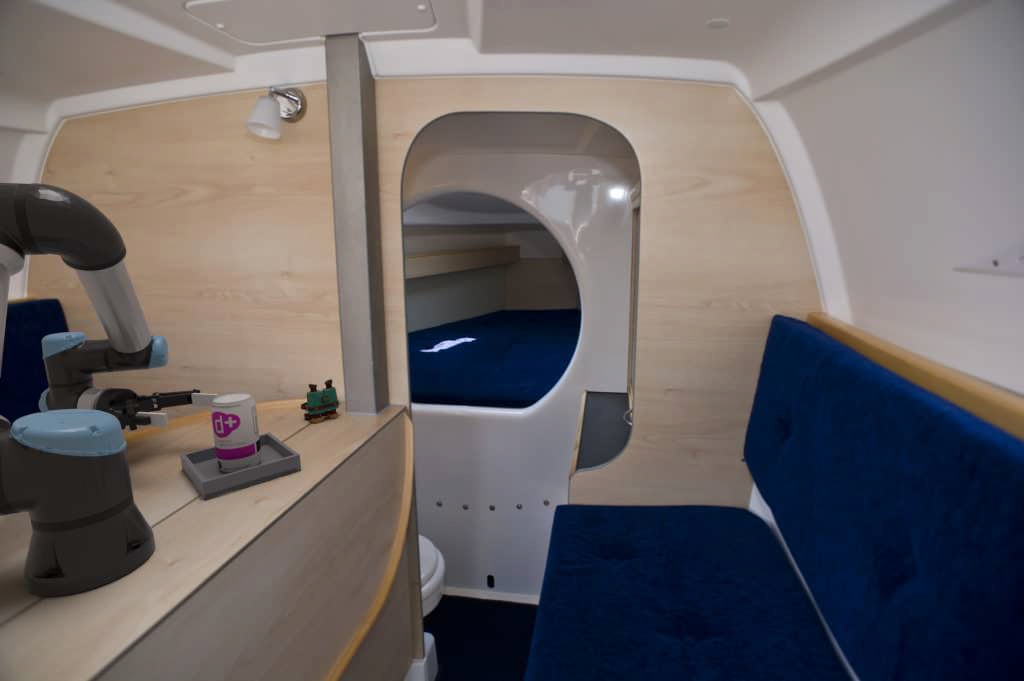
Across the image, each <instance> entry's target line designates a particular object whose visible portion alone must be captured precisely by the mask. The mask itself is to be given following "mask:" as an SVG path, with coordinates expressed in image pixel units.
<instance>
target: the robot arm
mask: <svg viewBox="0 0 1024 681" xmlns="http://www.w3.org/2000/svg"><path fill="white" fill-rule="evenodd" d="M127 254H128V253H127V247H126V245H125V243H124V239H123V236H122V235H121V234H120V232H119V229H117V227H116V226H115V224H114V223H113V222H112V221H111V220H110V219H109V217H107V216H106V215H105V214H104V213H103V212H102V211H101V210H99V208H97V207H96V205H94V204H92V203H91V202H90V201H88V200H87V199H85V198H83V197H82V196H80V195H78V194H76V193H74V192H72V191H71V190H67V189H65V188H62V187H60V186H56V185H52V184H46V183H37V182H35V183H33V182H32V183H22V182H21V183H20V182H19V183H18V182H0V377H2V376H1V375H2V373H1V372H2V366H3V356H4V355H3V354H4V353H3V352H4V345H5V344H4V343H5V332H6V322H7V321H6V320H7V314H8V301H9V291H10V282H11V281H10V280H11V277H13V276H15V275H17V274H18V273H20V272H22V270H24V267H25V259H26V256H38V255H43V256H44V255H54V256H55V255H56V256H59V257H60V258H61V260H62V262H63V263H64V265H66V266H67V267H69V268H71V269H73V270H74V271H75V273H76V275H77V277H78V279H79V282H80V284H81V285H82V288H83V289H84V291H85V293H86V295H87V298H88V300H89V301H90V304H91V305H92V308H93V310H94V312H95V314H96V317H97V318H98V321H99V322H100V325H101V326H102V329H103V331H104V333H105V335H106V336H107V338H105V339H91V340H90V339H88V337H87V336H86V334H85V333H84V332H80V331H69V332H67V331H66V332H58V333H51V334H48V335H44V337H43V338H42V339H41V347H42V360H43V363H44V367H45V368H44V369H45V372H46V377H47V383H48V386H47V389H45V390H44V391H43V392H42V393H41V394H40V398H39V401H38V408H39V410H40V411H41V412H35V413H31V414H27V415H24V416H22V417H19V418H17V419H16V420H14V422H12V425H11V421H10V420H9V419H7V418H6V417H4V416H3V415H1V414H0V517H2V516H8V515H13V514H18V513H26V512H27V513H28V516H29V518H30V523H31V530H32V533H31V536H30V537H31V538H30V542H29V545H28V550H27V554H26V559H25V563H24V566H23V577H24V584H25V586H26V587H25V588H26V590H28V592H30V593H31V594H33V595H36V596H43V597H60V596H67V595H73V594H77V593H81V592H86V591H88V590H92V589H96V588H98V587H100V586H103V585H106V584H109V583H111V582H113V581H115V580H117V579H120V578H122V577H124V576H125V575H127V574H129V573H131V572H132V571H134V570H136V569H137V568H138V567H140V566H141V565H143V564H144V563H145V562H146V561H147V560H148V559H149V558H150V557H151V556H152V554H153V553H154V551H155V549H156V542H155V541H156V540H155V534H154V530H153V529H152V527H151V526H150V524H149V522H148V521H147V520H146V518H145V517H144V515H143V513H142V512H141V510H140V509H139V507H138V505H136V503H135V498H134V494H133V493H134V492H133V486H132V478H131V474H130V466H129V462H128V461H129V460H128V454H127V446H128V445H127V441H126V439H125V438H124V433H123V430H125V429H126V427H127V426H128V428H129V431H131V432H133V431H137V430H138V427H150V428H151V427H152V428H165V429H166V428H168V427H170V422H169V415H168V413H165V412H159V411H161V410H162V409H166V408H171V407H172V408H173V407H180V406H188V405H192V406H193V407H194V406H196V407H211V405H212V403H213V399H214V398H216V397H219V396H220V394H219V393H202V392H201V389H196V388H193V389H192V390H179V391H166V392H163V391H162V392H157V391H156V392H152V394H150V395H145V394H143V395H142V394H140V395H138V394H137V393H136V392H135V391H134V390H132V389H129V388H120V387H119V388H118V387H102V386H100V387H98V386H96V387H95V386H94V378H93V375H95V374H96V375H98V374H108V373H109V374H110V373H116V372H117V373H118V372H128V371H129V372H130V371H131V372H132V371H141V370H146V371H147V370H150V369H155V368H156V369H157V368H158V369H159V368H163V367H166V366H167V365H168V361H169V347H168V342H167V339H166V338H165V337H164V336H163V335H155V334H152V333H151V331H150V328H149V324H148V322H147V320H146V317H145V315H144V311H143V309H142V306H141V304H140V301H139V299H138V296H137V295H138V294H137V293H136V291H135V288H134V285H133V282H132V280H131V277H130V274H129V271H128V268H127V266H126V263H125V261H124V260H125V259H126V256H127ZM155 405H156V407H155Z"/></svg>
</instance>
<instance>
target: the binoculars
mask: <svg viewBox="0 0 1024 681" xmlns="http://www.w3.org/2000/svg"><path fill="white" fill-rule="evenodd" d="M333 382H334V381H333V379H332V378H331V379H327V380H325V381H324V385H325V388H322V390H319V389H317V387H318V385H317V384H314V383H308V388H309V390H310V391H307V392H306V402H302V403H301V404H300V409H301V410H302V411H305V413H304V414H303V416H304V417H303V418H304V419H311V422H312V423H314V424H318V423H323V416H327V418H329V419H337V418H338V417H339V412H338V411H337V409H338V408H339V407H340V402H339V399H338V393H337V389H336V386H333V385H332V384H333Z"/></svg>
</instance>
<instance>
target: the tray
mask: <svg viewBox="0 0 1024 681" xmlns="http://www.w3.org/2000/svg"><path fill="white" fill-rule="evenodd" d="M259 437H260V446H261V455H262V460H261V462H259V464H258V465H257V466H254V467H250V468H247V469H243V470H240V471H236V472H233V473H225V472H223V471H222V470H220V469H219V468H218V465H217V457H216V449H215V445H214V446H211V447H206V448H201V449H199V450H198V449H197V450H194V451H190V452H186V453H182V454H179V457H180V464H181V470H182V472H183V473H184V475H185V476H186V477H187V479H188V480H189V482H190V483H191V484H192V485H193V486H194V488H195V489H196V490H197V492H198V493H199V495H200V496H201V497H202V499H203V498H204V499H203V500H204V501H206V500H210V499H213V498H212V497H214V498H216V496H217V497H220V496H223V495H225V493H227V494H229V493H228V492H230V493H232V492H231V491H233V492H236V491H239V490H242V489H241V488H243V489H246V488H249V487H252V486H255V484H256V485H258V484H262V483H265V482H269V481H272V480H275V479H278V478H281V477H283V476H284V475H285V476H288V475H291V474H294V473H297V471H298V472H300V471H299V470H301V471H302V465H301V455H300V454H299V453H298V452H297V451H295V450H294V449H293V448H291V447H290V446H289V445H287V444H286V443H285V442H283V441H281V439H279V438H277V437H276V436H275V435H273V434H272V433H271V432H266V433H262V434H259ZM293 472H294V473H293ZM287 474H288V475H287ZM251 485H252V486H251ZM248 486H249V487H248ZM245 487H246V488H245ZM238 489H239V490H238ZM235 490H236V491H235ZM222 494H223V495H222ZM219 495H220V496H219Z"/></svg>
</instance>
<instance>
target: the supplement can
mask: <svg viewBox="0 0 1024 681" xmlns="http://www.w3.org/2000/svg"><path fill="white" fill-rule="evenodd" d="M209 410H210V416H211V418H210V419H211V424H212V431H213V432H212V433H213V440H214V441H213V442H214V446H215V449H216V457H217V465H218V468H219V469H220V470H222V471H223V472H225V473H233V472H236V471H240V470H243V469H247V468H250V467H254V466H257V465H258V464H259V462H261V460H262V455H261V446H260V437H259V435H260V428H259V420H258V411H257V403H256V400H255V398H253V396H252V394H251V393H248V392H232V393H228V394H227V393H226V394H222V395H219V397H216V398H214V399H213V403H212V405H211V406H209Z"/></svg>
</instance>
